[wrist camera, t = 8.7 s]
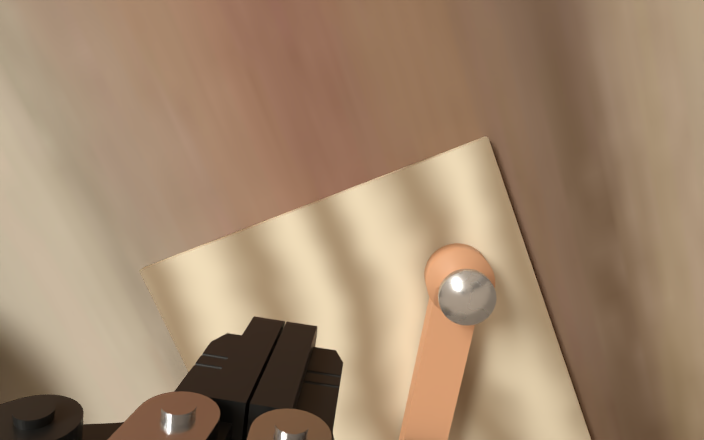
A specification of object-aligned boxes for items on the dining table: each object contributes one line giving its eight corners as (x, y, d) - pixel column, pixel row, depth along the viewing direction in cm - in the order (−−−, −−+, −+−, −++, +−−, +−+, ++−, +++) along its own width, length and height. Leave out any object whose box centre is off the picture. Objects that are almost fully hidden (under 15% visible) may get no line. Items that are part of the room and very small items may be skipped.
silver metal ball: (477, 251, 33) (485, 263, 31) (494, 299, 34) (504, 314, 31) (427, 269, 34) (431, 283, 31) (444, 316, 34) (449, 333, 32)
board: (485, 136, 35) (488, 137, 34) (602, 480, 40) (608, 489, 39) (145, 266, 39) (139, 270, 38) (292, 569, 43) (290, 580, 43)
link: (431, 238, 35) (434, 245, 34) (495, 249, 35) (502, 257, 33) (384, 463, 39) (384, 481, 37) (441, 474, 39) (445, 493, 37)
